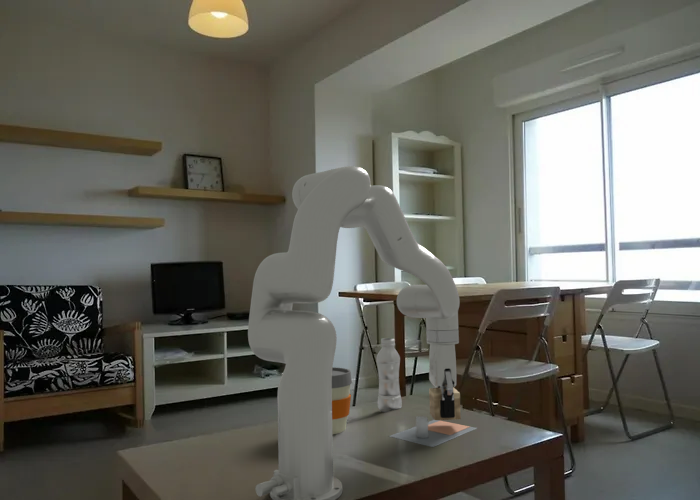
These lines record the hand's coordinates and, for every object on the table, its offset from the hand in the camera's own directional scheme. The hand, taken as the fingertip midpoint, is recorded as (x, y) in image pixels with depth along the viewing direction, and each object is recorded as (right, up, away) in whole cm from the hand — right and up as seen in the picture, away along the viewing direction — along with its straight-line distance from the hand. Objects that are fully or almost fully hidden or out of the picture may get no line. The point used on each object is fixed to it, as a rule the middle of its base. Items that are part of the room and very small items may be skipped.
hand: (444, 412), depth 128 cm
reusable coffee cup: (-28, -6, +1) cm, 29 cm away
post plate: (-3, -5, -3) cm, 7 cm away
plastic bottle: (-11, -6, +21) cm, 25 cm away
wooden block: (0, -1, 0) cm, 1 cm away
